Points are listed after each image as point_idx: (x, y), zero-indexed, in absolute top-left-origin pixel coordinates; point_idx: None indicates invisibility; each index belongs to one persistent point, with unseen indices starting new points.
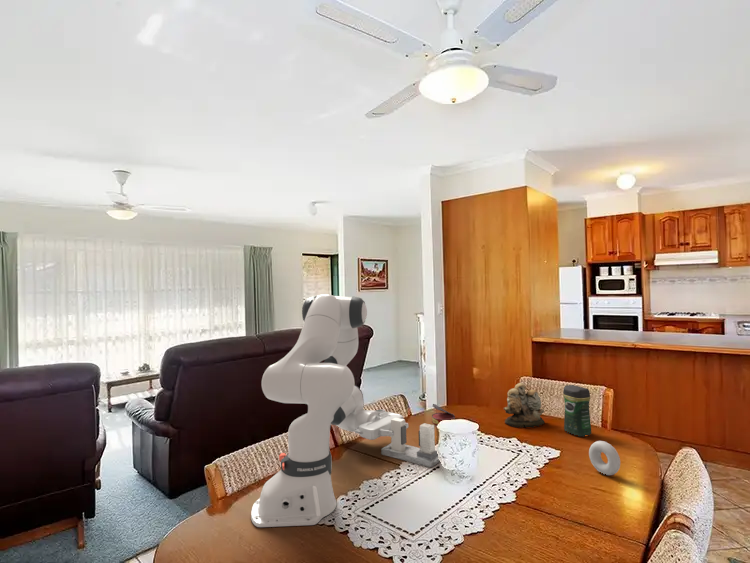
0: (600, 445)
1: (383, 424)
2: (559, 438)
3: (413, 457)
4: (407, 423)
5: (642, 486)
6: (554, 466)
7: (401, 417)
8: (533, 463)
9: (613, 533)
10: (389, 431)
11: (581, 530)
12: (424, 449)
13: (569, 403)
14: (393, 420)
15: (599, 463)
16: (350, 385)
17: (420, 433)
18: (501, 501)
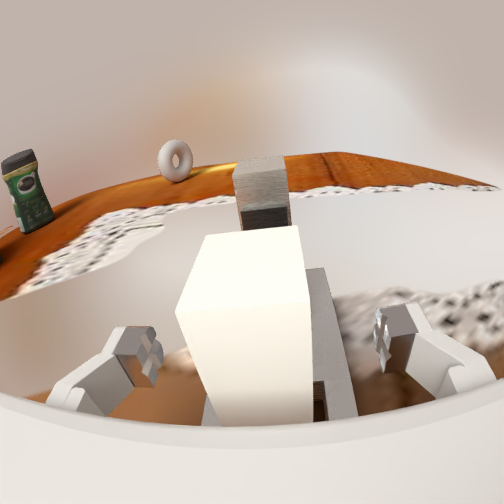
0: (176, 143)
1: (390, 423)
2: (54, 228)
3: (336, 321)
4: (121, 326)
5: (200, 169)
6: (174, 199)
7: (4, 392)
8: (171, 209)
9: (321, 157)
10: (422, 312)
11: (338, 161)
12: None
13: (26, 178)
14: (305, 277)
15: (178, 169)
16: None
17: (289, 210)
18: (348, 189)
